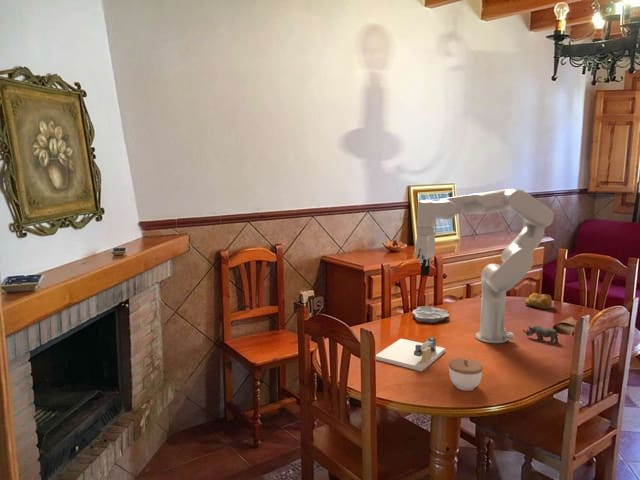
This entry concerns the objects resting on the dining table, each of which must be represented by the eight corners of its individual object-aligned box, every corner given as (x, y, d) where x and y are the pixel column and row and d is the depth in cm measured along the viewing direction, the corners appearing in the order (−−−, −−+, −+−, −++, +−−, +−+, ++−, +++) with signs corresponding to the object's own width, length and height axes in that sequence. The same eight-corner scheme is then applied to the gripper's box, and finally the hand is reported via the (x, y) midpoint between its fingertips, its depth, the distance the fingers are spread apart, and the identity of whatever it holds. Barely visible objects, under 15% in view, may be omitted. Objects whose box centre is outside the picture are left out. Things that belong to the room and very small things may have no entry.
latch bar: (429, 347, 196) (429, 332, 195) (436, 349, 194) (437, 334, 193) (412, 361, 183) (413, 345, 182) (420, 363, 181) (421, 347, 180)
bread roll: (522, 306, 255) (523, 291, 254) (529, 302, 262) (530, 287, 261) (548, 311, 246) (549, 295, 245) (555, 307, 254) (556, 291, 252)
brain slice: (450, 326, 227) (450, 319, 226) (412, 323, 230) (412, 317, 230) (448, 313, 246) (448, 307, 245) (412, 311, 249) (413, 305, 249)
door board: (445, 351, 196) (445, 337, 195) (422, 371, 178) (422, 355, 177) (400, 341, 207) (401, 328, 206) (374, 359, 189) (375, 344, 188)
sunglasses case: (572, 336, 212) (565, 321, 214) (557, 340, 217) (550, 326, 219) (588, 326, 224) (580, 312, 226) (573, 330, 229) (566, 317, 231)
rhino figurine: (524, 335, 214) (525, 321, 213) (559, 342, 206) (560, 328, 205) (521, 337, 211) (522, 324, 210) (556, 345, 203) (557, 330, 202)
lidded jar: (476, 396, 159) (478, 368, 158) (443, 388, 165) (444, 361, 163) (485, 384, 168) (486, 357, 167) (453, 376, 174) (454, 351, 172)
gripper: (425, 228, 213) (423, 270, 215) (410, 232, 200) (408, 277, 203) (442, 229, 208) (440, 272, 211) (427, 233, 196) (426, 279, 199)
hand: (425, 274), depth 207 cm, fingers closed
